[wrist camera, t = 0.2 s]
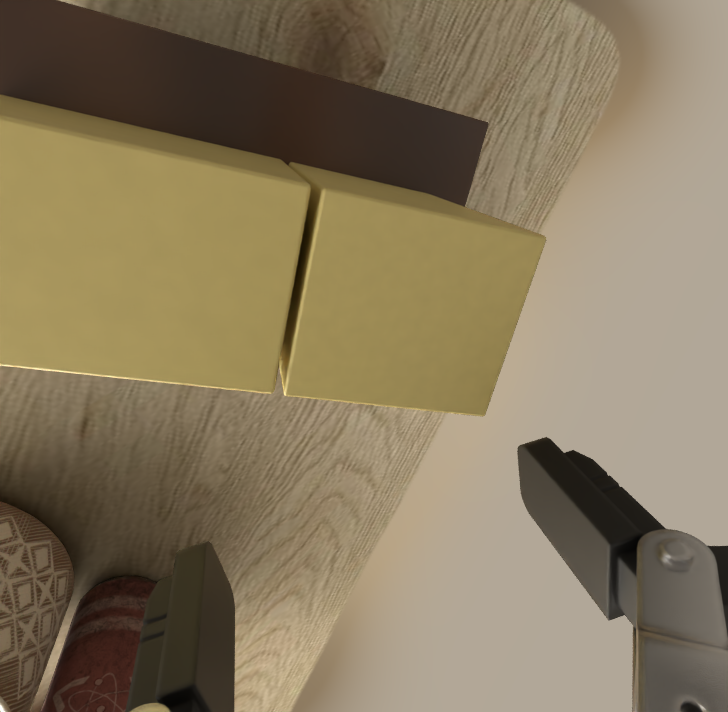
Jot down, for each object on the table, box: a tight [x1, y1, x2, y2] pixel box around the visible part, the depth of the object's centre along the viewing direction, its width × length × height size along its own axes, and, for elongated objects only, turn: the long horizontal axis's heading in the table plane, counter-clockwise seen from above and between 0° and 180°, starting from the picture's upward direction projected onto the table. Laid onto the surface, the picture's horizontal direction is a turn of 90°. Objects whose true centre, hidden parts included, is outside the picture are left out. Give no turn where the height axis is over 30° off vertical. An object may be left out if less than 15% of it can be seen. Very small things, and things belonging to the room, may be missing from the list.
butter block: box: [0, 95, 311, 394], centre depth 13 cm, size 8×4×8 cm, turn 77°
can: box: [41, 576, 157, 712], centre depth 29 cm, size 6×6×14 cm
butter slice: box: [279, 162, 546, 416], centre depth 15 cm, size 5×4×8 cm
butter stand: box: [0, 0, 489, 207], centre depth 22 cm, size 16×10×10 cm, turn 77°
